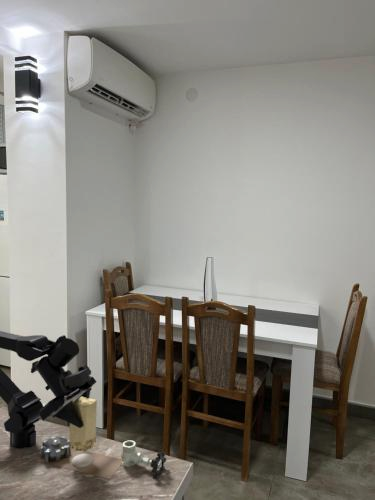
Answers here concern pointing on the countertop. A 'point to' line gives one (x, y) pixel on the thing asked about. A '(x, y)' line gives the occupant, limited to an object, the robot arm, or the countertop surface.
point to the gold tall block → (84, 425)
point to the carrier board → (88, 463)
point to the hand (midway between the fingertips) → (87, 422)
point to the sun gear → (55, 449)
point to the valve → (141, 458)
